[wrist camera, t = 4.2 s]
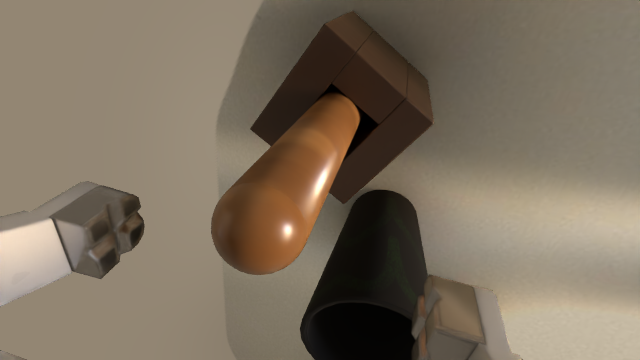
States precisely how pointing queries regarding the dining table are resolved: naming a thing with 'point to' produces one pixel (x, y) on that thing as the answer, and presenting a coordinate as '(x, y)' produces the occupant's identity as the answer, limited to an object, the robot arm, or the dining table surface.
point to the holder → (354, 98)
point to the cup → (369, 284)
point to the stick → (285, 189)
